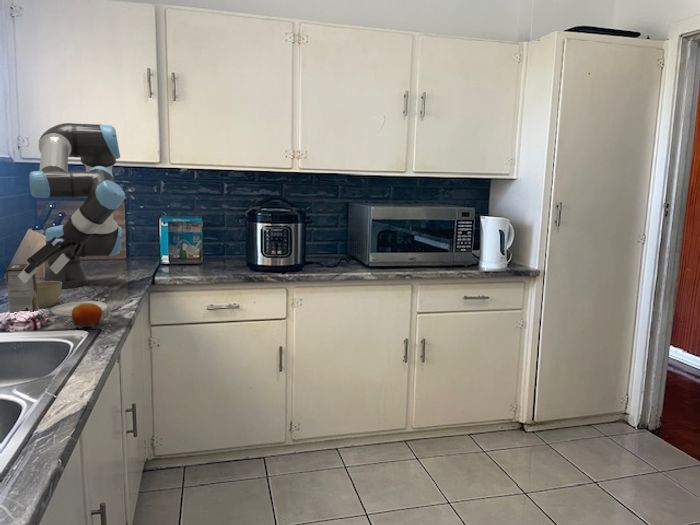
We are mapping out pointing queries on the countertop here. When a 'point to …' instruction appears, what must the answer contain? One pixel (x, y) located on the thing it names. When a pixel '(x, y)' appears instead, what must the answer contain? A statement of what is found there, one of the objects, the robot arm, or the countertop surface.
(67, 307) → the plate
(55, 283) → the flower pot
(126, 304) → the countertop surface
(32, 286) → the coffee box
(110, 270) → the countertop surface
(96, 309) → the fruit
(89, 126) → the robot arm
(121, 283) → the countertop surface
